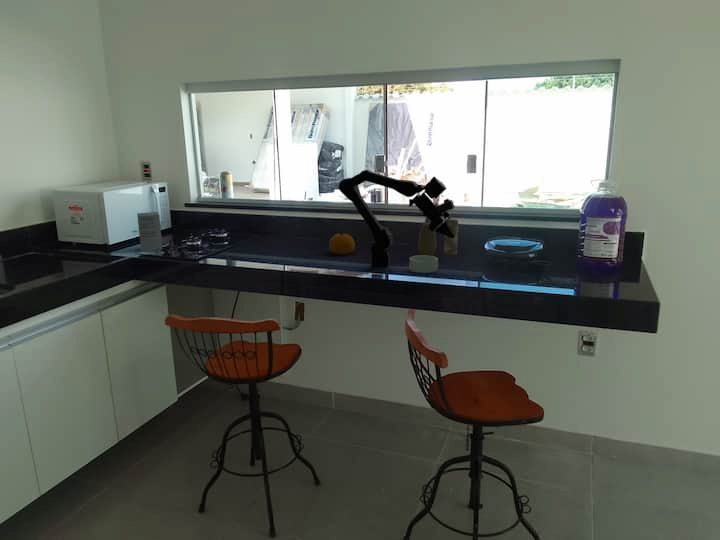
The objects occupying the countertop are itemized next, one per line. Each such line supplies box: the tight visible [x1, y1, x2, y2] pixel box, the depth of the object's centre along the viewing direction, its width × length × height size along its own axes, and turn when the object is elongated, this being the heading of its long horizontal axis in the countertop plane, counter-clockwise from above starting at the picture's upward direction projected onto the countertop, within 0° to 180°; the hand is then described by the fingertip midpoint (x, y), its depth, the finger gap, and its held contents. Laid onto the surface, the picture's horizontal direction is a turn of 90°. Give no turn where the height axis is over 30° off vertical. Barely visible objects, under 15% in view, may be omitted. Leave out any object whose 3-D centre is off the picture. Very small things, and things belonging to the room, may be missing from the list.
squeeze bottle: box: [417, 216, 437, 256], centre depth 242 cm, size 8×8×18 cm
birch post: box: [443, 218, 459, 255], centre depth 215 cm, size 5×5×13 cm
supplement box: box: [136, 211, 164, 252], centre depth 259 cm, size 10×9×17 cm
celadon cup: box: [408, 254, 439, 274], centre depth 219 cm, size 11×11×4 cm
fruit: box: [328, 231, 356, 256], centre depth 248 cm, size 12×12×10 cm
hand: (454, 236), depth 215 cm, fingers closed on birch post, 5 cm apart
